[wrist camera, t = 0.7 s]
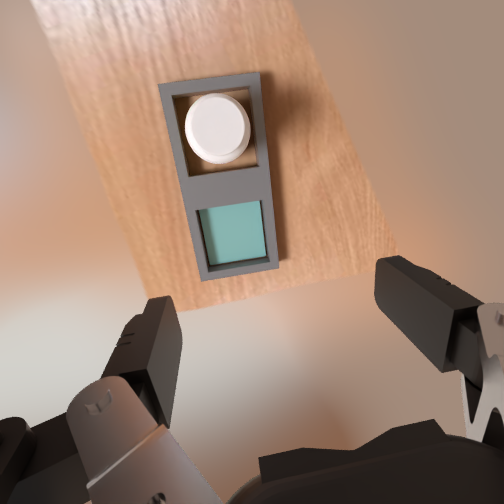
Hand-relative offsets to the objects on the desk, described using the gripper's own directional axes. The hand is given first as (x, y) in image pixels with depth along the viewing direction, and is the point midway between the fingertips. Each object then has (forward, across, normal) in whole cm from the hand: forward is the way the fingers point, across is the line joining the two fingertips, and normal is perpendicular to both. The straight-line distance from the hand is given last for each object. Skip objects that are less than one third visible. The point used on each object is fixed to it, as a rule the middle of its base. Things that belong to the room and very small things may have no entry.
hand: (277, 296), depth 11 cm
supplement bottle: (+23, +1, -6) cm, 24 cm away
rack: (+23, +1, -1) cm, 23 cm away
